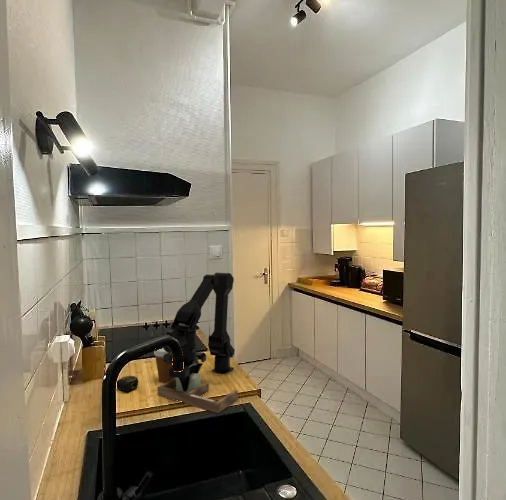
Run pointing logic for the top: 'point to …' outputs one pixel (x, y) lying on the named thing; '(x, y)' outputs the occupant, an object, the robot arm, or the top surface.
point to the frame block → (190, 383)
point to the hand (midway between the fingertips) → (188, 387)
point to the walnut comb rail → (197, 396)
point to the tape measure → (127, 383)
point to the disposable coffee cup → (162, 366)
